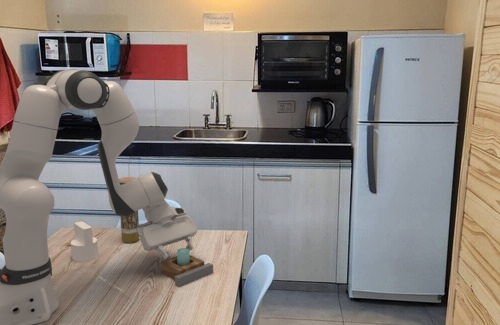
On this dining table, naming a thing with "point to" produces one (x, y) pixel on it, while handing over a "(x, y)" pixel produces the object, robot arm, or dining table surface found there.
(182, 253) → the teal rounded peg
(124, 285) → the dining table surface
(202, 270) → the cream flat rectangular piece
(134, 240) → the wooden log cylinder
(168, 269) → the socket block
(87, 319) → the dining table surface
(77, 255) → the base with upright slab
